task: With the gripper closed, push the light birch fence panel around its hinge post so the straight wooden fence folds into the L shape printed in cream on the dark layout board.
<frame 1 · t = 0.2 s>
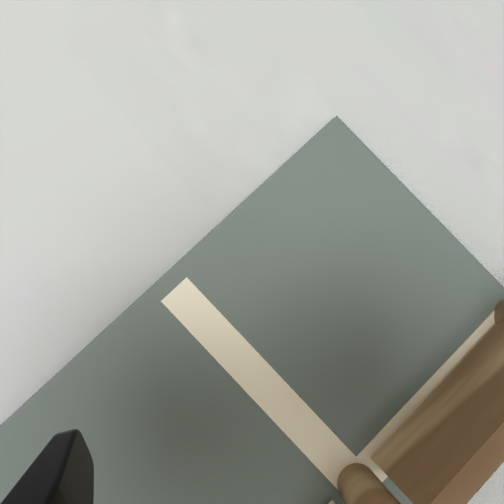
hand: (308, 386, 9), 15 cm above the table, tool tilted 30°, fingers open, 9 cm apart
layout board: (280, 415, 23), on the table
fixed fence: (353, 479, 23), resting on layout board
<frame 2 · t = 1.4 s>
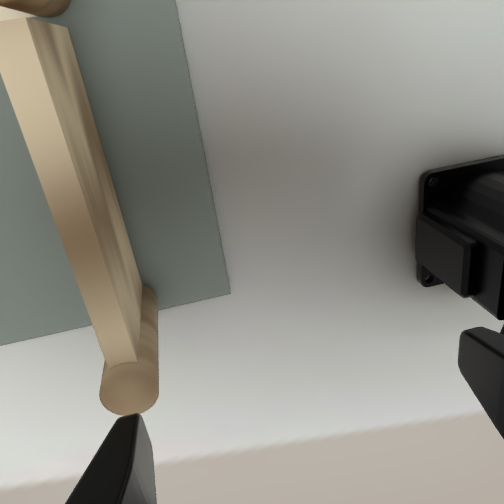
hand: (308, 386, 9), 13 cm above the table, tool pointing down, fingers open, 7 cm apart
hinged panel: (95, 222, 16), point 4 cm above the table, hinge at 90.0°
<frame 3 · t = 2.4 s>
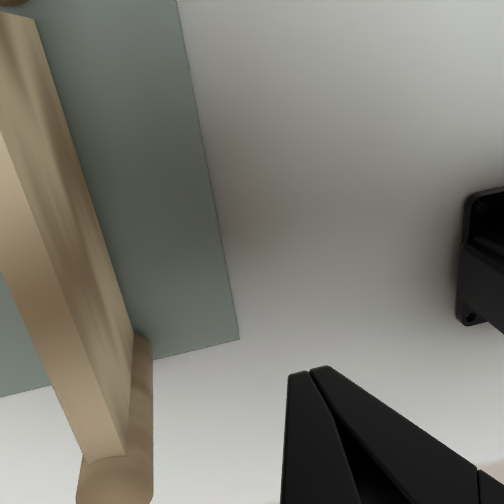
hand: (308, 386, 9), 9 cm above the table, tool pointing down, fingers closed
hinged panel: (70, 271, 12), point 4 cm above the table, hinge at 90.0°
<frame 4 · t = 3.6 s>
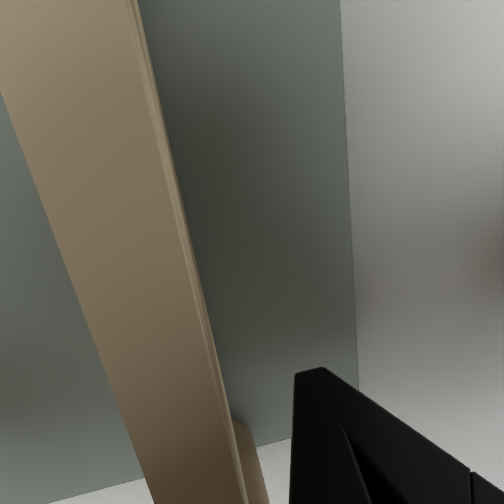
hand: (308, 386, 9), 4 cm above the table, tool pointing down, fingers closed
hinged panel: (190, 376, 8), point 4 cm above the table, hinge at 90.0°, touching gripper
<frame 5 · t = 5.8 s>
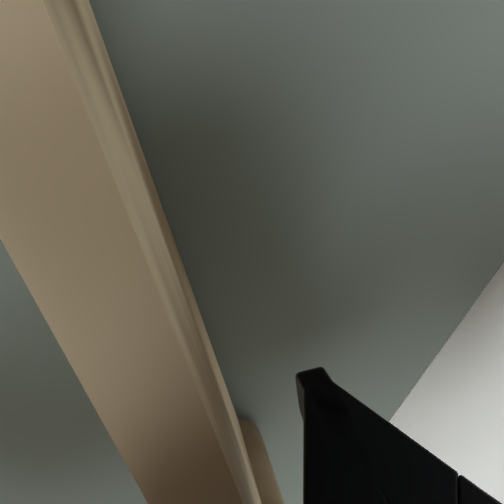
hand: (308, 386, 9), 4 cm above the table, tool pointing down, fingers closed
hinged panel: (185, 381, 8), point 4 cm above the table, hinge at 41.7°, touching gripper
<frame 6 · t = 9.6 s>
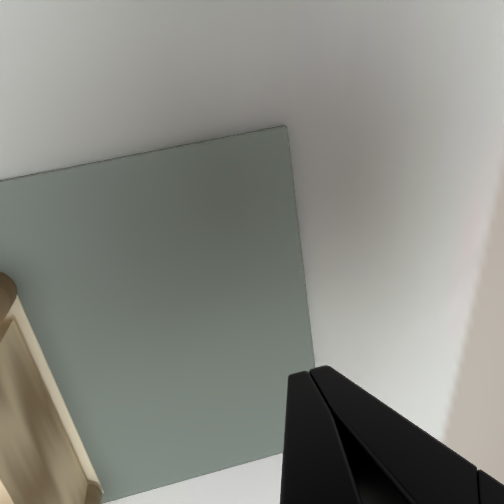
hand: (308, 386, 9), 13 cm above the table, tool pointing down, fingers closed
layout board: (45, 370, 22), on the table
hinged panel: (35, 478, 20), point 4 cm above the table, hinge at -0.2°
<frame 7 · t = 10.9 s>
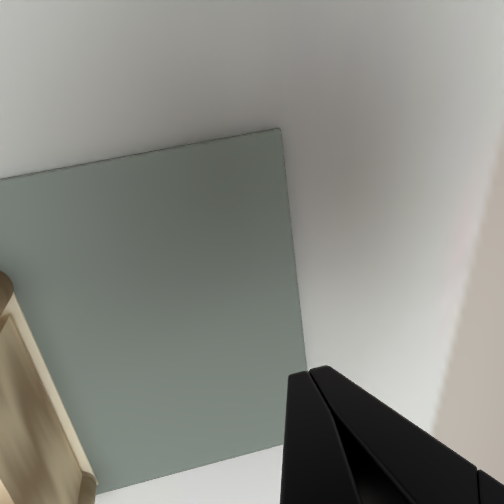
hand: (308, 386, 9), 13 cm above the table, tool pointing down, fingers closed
layout board: (41, 365, 22), on the table
hinged panel: (31, 471, 20), point 4 cm above the table, hinge at -0.2°
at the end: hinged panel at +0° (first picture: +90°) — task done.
